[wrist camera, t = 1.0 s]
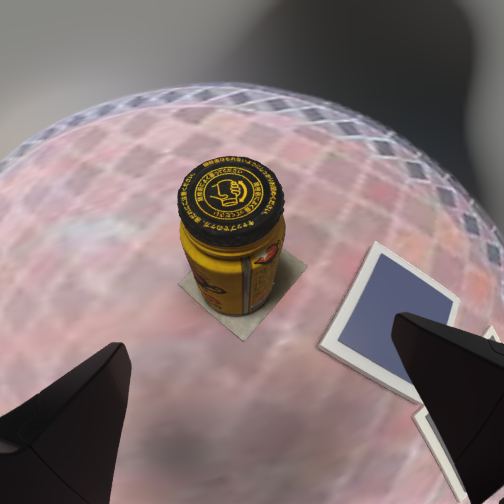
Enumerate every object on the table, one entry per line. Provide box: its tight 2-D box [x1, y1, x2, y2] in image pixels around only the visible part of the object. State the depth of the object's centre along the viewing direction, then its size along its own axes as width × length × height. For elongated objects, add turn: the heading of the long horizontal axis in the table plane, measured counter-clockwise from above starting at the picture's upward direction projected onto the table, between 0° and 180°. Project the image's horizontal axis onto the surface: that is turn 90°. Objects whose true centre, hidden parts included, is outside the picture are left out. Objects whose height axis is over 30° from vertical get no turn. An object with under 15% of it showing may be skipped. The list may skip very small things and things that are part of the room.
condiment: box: [177, 156, 308, 341], centre depth 19 cm, size 7×8×12 cm
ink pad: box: [317, 241, 460, 405], centre depth 22 cm, size 11×11×2 cm
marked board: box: [411, 325, 501, 503], centre depth 18 cm, size 14×14×1 cm
